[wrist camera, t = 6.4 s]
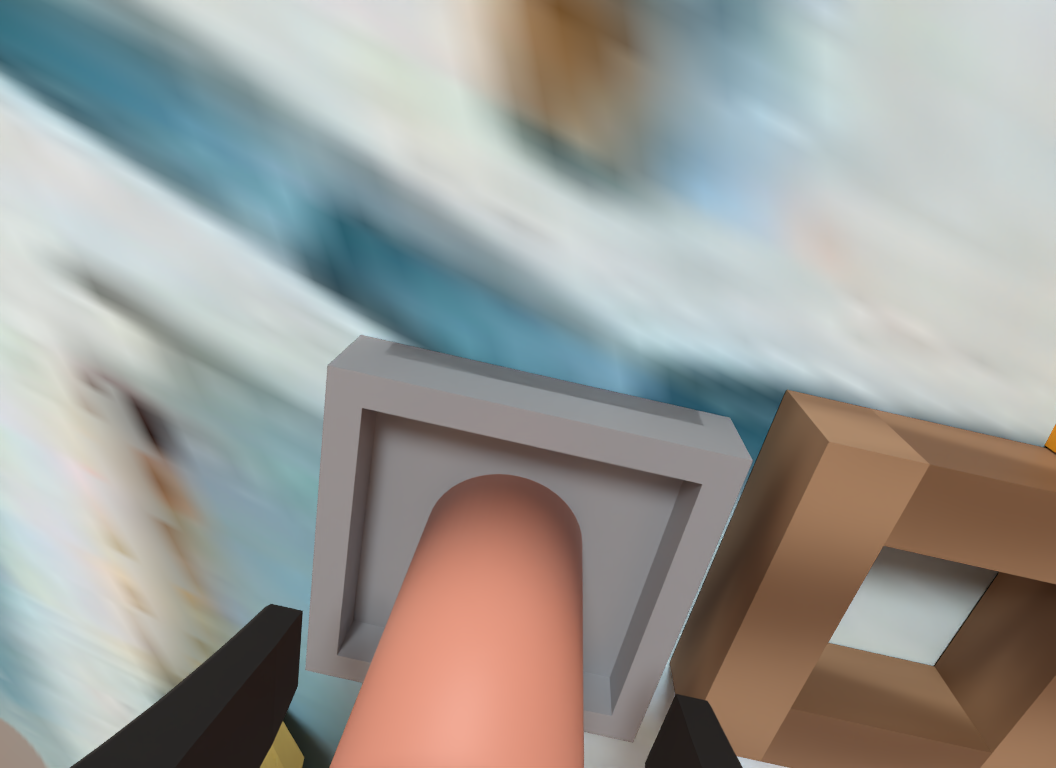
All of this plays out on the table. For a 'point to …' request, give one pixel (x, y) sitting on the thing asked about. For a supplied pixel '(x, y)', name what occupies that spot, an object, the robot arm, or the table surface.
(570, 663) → the plug
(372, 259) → the table surface
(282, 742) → the ball valve
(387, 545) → the tray
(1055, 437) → the pipe clamp
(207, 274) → the table surface
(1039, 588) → the square frame
